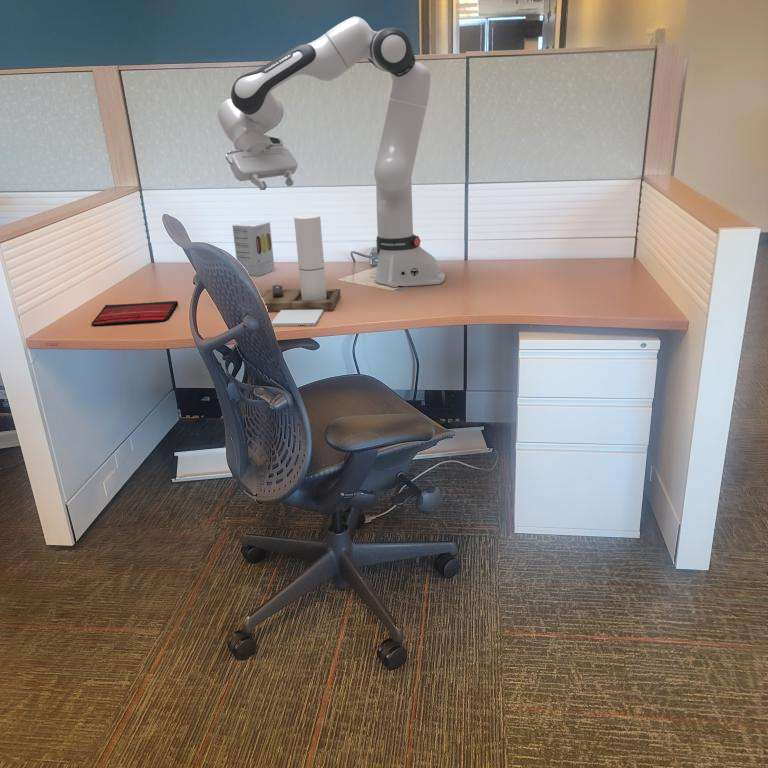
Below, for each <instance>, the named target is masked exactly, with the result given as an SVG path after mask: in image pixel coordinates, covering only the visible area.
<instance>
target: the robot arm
mask: <svg viewBox="0 0 768 768" xmlns="http://www.w3.org/2000/svg"><path fill="white" fill-rule="evenodd" d="M414 53H415V52H414V49H413V45H412V42H411V39H410V37H409V35H408V34H407V33H406V32H405V30H402V29H401V28H398V27H394V26H392V27H391V26H390V27H385V28H383V29H381V30H379V31H375V30H374V29H372V28H371V26H370V25H369V23H368V22H367V21H366V20H365V19H364V18H362V17H359V16H351V17H349V18H347V19H345V20H344V21H342V22H339V23H338V24H336V25H335V26H333V27H332V28H330V29H329V30H327V31H326V32H325V33H323V34H322V35H321V36H320V37H318V38H316V39H315V40H313V41H311V42H308V43H306V44H305V43H302V44H300V45H297V46H295V47H293V48H291V49H290V50H288V51H286V52H284V53H283V54H281V55H279V56H278V57H276V58H275V59H273V60H271V61H269V62H268V63H267V64H265V65H263V66H262V67H260V68H258V69H256V70H254V71H250V72H248V73H247V72H246V73H244V74H242V75H240V76H239V77H238V78H236V80H235V81H234V83H233V85H232V87H231V91H230V98H228V99H227V98H226V99H225V100H224V101H223V102H222V103H221V104H220V106H219V108H218V109H217V110H218V112H217V118H218V121H219V123H220V126H221V127H222V130H223V131H224V134H225V135H226V136H227V138H228V139H229V140H230V141H231V143H233V146H234V149H235V150H234V151H233V150H230V151H227V153H226V154H225V159H226V162H227V163H228V164H229V167H230V169H231V171H232V173H233V176H234V178H235V179H236V180H238V181H239V182H245V181H250V182H251V183H252V184H254V186H256V187H258V189H259V190H260V191H264V190H266V189H267V187H268V185H267V184H266V182H265V180H261V179H268V178H276V177H282V176H283V177H284V178H285V179H286V180H285V181H284V183H285V184H286V186H287V187H292V186H293V185H294V183H295V181H294V180H293V178H292V175H294V174H295V173H296V171H297V169H298V164H299V163H298V161H297V160H296V158H295V156H294V155H293V154H292V152H291V151H290V150H289V149H288V148H287V147H285V146H284V141H283V139H281V138H278V137H274V136H273V137H272V136H269V135H266V133H268V132H269V131H271V130H273V129H274V128H275V127H277V126H278V125H279V124H280V123H281V121H282V119H283V117H284V106H283V104H282V103H281V101H280V100H279V99H278V97H277V96H276V95H275V94H274V93H273V92H272V91H273V90H275V89H276V88H278V87H279V86H281V85H283V84H285V83H286V82H287V81H290V80H291V79H293V78H295V77H297V76H300V75H305V76H310V77H313V78H316V79H318V80H321V81H325V82H330V81H333V80H335V79H337V78H339V77H341V76H342V75H343V74H344V73H346V72H347V71H349V70H350V69H351V68H352V67H353V66H354V65H356V64H358V63H359V62H361V61H363V60H367V61H369V62H370V63H371V64H372V65H373V66H374V67H375V68H377V69H378V70H380V71H382V72H385V73H389V74H390V76H391V79H392V86H391V87H392V88H391V92H390V95H389V99H388V100H389V101H388V107H387V110H386V114H385V118H384V119H385V120H384V125H383V129H382V133H381V138H380V143H379V148H378V152H377V156H376V162H375V165H374V170H373V171H374V172H373V173H374V174H373V176H374V180H375V186H376V187H375V190H376V221H377V223H376V225H377V226H376V227H377V236H376V239H375V240H376V242H375V245H376V253H377V266H376V272H375V277H374V281H375V282H376V283H378V284H381V285H385V286H389V287H393V288H398V286H403V287H414V286H428V285H440V284H442V283H443V282H444V281H445V280H446V275H445V273H444V272H443V271H441V270H439V267H438V263H437V260H436V258H435V257H434V256H433V255H432V254H430V253H429V252H428V251H426V250H425V249H424V248H422V247H421V239H420V237H419V235H416V234H414V227H413V226H414V225H413V223H414V222H413V221H414V220H413V196H412V195H413V194H412V193H413V191H412V189H413V188H412V187H413V186H412V177H413V176H412V175H413V171H414V167H415V161H416V157H417V152H418V147H419V144H420V137H421V133H422V130H423V129H422V127H423V124H424V120H425V116H426V111H427V107H428V103H429V98H430V89H431V72H430V70H429V68H428V67H426V65H424V64H423V63H421V62H419V61H416V57H415V54H414Z"/></svg>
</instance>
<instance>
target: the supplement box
mask: <svg viewBox="0 0 768 768" xmlns="http://www.w3.org/2000/svg"><path fill="white" fill-rule="evenodd" d="M231 228H232V235H233V241H234V251H235V256H236V257H235V258H236V259H237V260H238V261H239V262H240V263H241V264H242V265H243V266H244V267H245V269H246V270H247V271H248V273H249V274H250V275H249V276H253V277H259V276H263V275H265V274H268V273H271V272H273V270H274V271H276V270H275V261H274V250H273V241H272V231H271V223H270V221H257V220H247V221H245V222H241V223H236V224H233V225H232V227H231ZM237 260H236V261H237Z"/></svg>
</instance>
